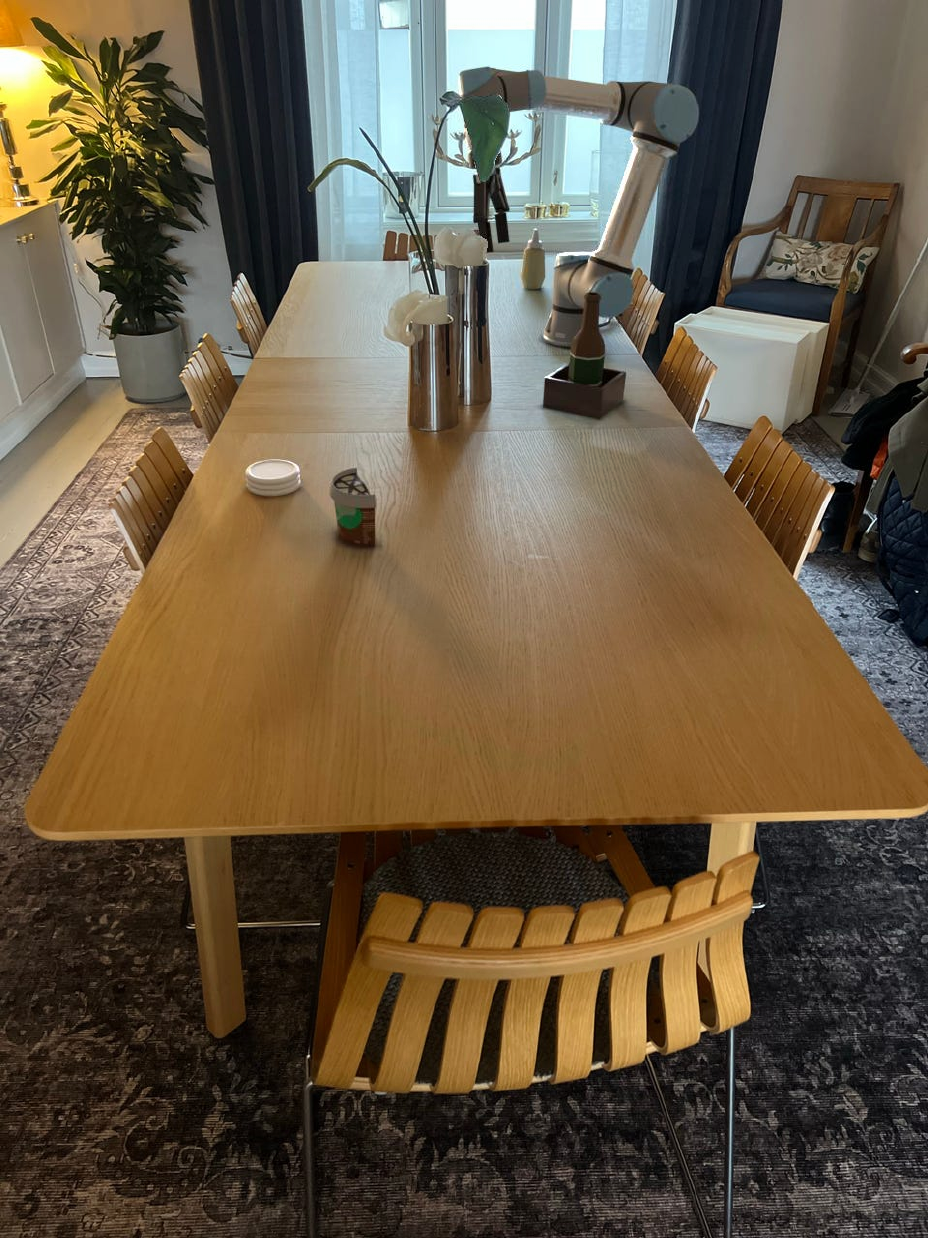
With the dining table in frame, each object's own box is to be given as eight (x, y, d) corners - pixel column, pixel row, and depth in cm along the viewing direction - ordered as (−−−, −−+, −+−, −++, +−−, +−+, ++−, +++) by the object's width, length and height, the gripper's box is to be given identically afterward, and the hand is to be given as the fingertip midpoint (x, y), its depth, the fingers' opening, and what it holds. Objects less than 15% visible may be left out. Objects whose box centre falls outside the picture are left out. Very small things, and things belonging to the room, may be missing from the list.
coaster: (309, 479, 183) (307, 462, 181) (287, 500, 175) (285, 483, 173) (261, 472, 185) (259, 455, 183) (237, 493, 177) (235, 476, 175)
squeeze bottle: (549, 286, 314) (553, 228, 304) (537, 291, 308) (541, 232, 298) (527, 283, 318) (530, 225, 308) (515, 288, 312) (518, 229, 302)
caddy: (568, 390, 229) (570, 361, 225) (623, 401, 224) (626, 371, 220) (542, 407, 219) (544, 377, 215) (599, 419, 213) (602, 389, 209)
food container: (324, 523, 168) (320, 470, 162) (358, 518, 170) (355, 466, 164) (341, 555, 158) (338, 500, 153) (377, 550, 160) (376, 495, 155)
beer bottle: (599, 395, 224) (610, 289, 211) (600, 406, 217) (611, 298, 204) (566, 393, 224) (574, 288, 211) (566, 404, 218) (574, 297, 205)
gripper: (483, 144, 225) (495, 239, 235) (450, 154, 204) (464, 258, 214) (514, 140, 222) (524, 236, 232) (483, 149, 202) (496, 255, 212)
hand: (495, 247), depth 223 cm, fingers open, 13 cm apart
